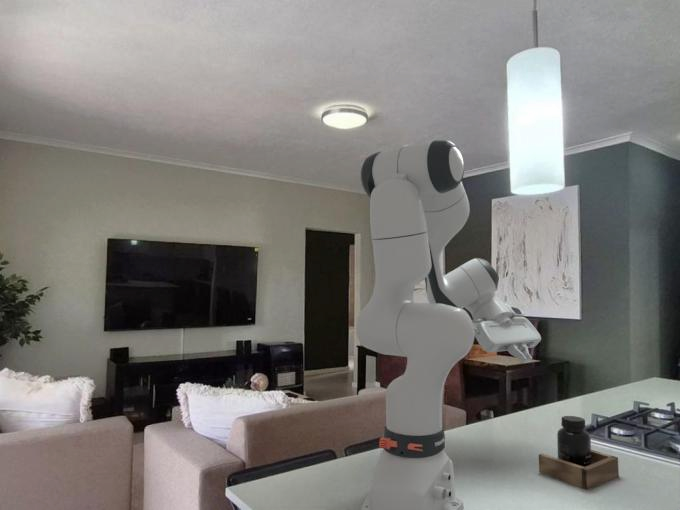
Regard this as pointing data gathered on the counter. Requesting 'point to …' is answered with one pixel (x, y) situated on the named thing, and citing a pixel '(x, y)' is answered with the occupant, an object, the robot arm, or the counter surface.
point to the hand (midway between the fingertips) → (527, 361)
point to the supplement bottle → (574, 441)
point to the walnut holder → (581, 470)
